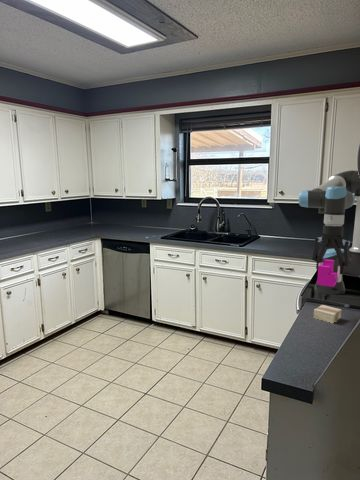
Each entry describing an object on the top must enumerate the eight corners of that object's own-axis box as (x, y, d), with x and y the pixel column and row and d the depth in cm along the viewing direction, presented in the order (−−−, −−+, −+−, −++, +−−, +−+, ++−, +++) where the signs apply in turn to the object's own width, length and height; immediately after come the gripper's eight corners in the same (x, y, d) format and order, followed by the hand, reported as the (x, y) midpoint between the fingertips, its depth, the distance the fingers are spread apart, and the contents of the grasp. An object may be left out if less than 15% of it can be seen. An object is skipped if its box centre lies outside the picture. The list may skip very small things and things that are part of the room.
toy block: (334, 287, 136) (335, 268, 135) (317, 284, 139) (318, 266, 138) (339, 278, 149) (340, 261, 147) (323, 276, 152) (324, 259, 151)
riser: (321, 315, 150) (322, 304, 149) (340, 321, 145) (341, 309, 144) (313, 321, 145) (313, 309, 144) (332, 326, 139) (333, 314, 138)
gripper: (305, 223, 146) (302, 276, 150) (356, 228, 132) (351, 286, 136) (313, 222, 152) (310, 273, 155) (363, 226, 137) (358, 282, 141)
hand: (329, 279), depth 145 cm, fingers closed on toy block, 7 cm apart
